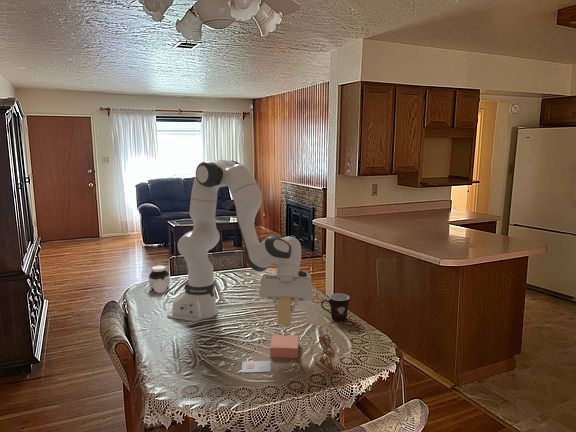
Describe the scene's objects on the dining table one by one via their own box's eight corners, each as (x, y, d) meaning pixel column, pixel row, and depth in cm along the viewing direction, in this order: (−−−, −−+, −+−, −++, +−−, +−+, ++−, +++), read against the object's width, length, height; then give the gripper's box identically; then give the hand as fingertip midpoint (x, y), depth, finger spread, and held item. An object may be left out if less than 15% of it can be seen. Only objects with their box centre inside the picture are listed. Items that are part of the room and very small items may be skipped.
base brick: (270, 357, 156) (269, 347, 156) (272, 344, 166) (272, 335, 166) (297, 358, 156) (297, 348, 155) (298, 345, 166) (298, 335, 165)
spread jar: (162, 284, 234) (161, 263, 232) (176, 288, 228) (175, 267, 226) (144, 290, 225) (142, 269, 223) (157, 295, 218) (156, 273, 216)
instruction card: (241, 372, 146) (241, 371, 146) (242, 362, 153) (242, 361, 153) (270, 372, 146) (270, 371, 146) (270, 361, 153) (270, 360, 153)
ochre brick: (277, 324, 157) (277, 301, 155) (279, 319, 161) (279, 296, 160) (290, 325, 156) (289, 301, 155) (291, 320, 161) (291, 297, 159)
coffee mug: (350, 316, 192) (351, 294, 190) (346, 323, 184) (347, 301, 182) (325, 312, 196) (325, 291, 194) (320, 320, 188) (320, 298, 186)
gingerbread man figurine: (339, 371, 146) (339, 338, 144) (330, 374, 144) (330, 341, 142) (323, 360, 154) (323, 328, 152) (314, 363, 152) (314, 331, 150)
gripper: (259, 271, 164) (255, 305, 156) (313, 273, 161) (311, 308, 154) (262, 279, 169) (257, 312, 161) (314, 281, 167) (312, 315, 159)
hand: (284, 310), depth 157 cm, fingers closed on ochre brick, 4 cm apart
